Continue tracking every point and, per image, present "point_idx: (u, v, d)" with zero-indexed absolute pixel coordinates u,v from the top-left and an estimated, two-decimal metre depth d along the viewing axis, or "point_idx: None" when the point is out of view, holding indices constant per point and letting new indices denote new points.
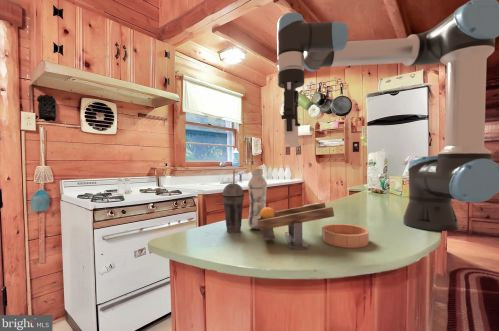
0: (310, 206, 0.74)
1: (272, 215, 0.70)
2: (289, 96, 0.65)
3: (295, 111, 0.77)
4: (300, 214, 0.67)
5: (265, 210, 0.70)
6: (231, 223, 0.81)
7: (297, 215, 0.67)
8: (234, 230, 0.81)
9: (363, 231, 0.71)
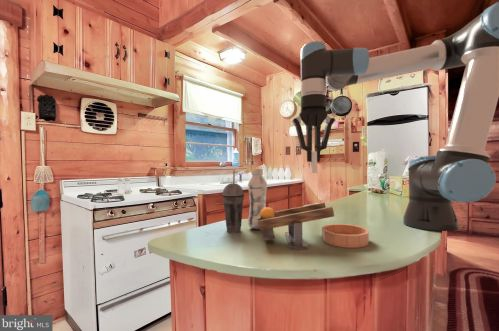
0: (310, 206, 0.74)
1: (272, 215, 0.70)
2: (297, 133, 0.78)
3: (316, 132, 0.77)
4: (300, 214, 0.67)
5: (265, 210, 0.70)
6: (231, 223, 0.81)
7: (297, 215, 0.67)
8: (234, 230, 0.81)
9: (363, 231, 0.71)
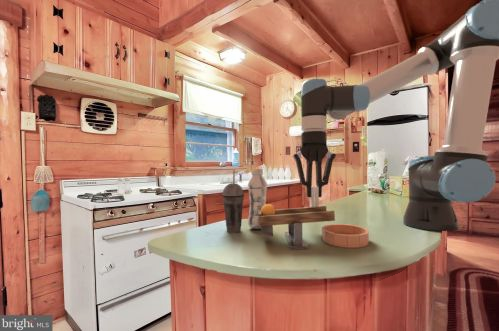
0: (311, 208, 0.74)
1: (273, 212, 0.70)
2: (298, 168, 0.78)
3: (317, 168, 0.77)
4: (301, 214, 0.67)
5: (266, 207, 0.70)
6: (231, 223, 0.81)
7: (298, 215, 0.67)
8: (234, 230, 0.81)
9: (363, 231, 0.71)
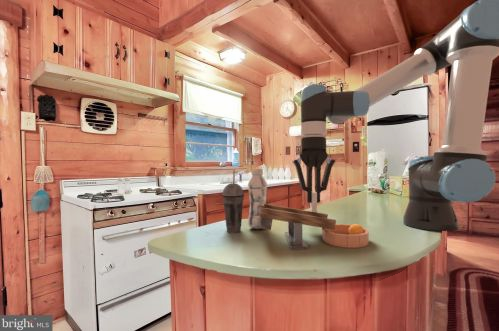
0: (313, 213, 0.74)
1: None
2: (298, 174, 0.78)
3: (316, 174, 0.77)
4: (303, 216, 0.67)
5: (357, 227, 0.69)
6: (231, 223, 0.81)
7: (300, 216, 0.67)
8: (234, 230, 0.81)
9: None
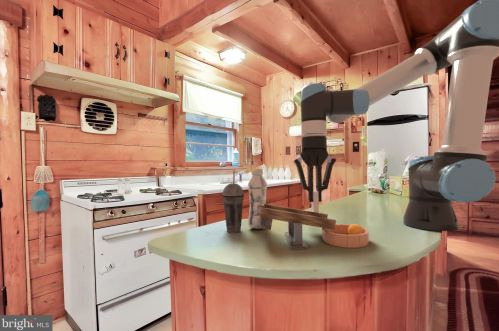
0: (313, 213, 0.74)
1: None
2: (299, 173, 0.78)
3: (317, 173, 0.77)
4: (303, 216, 0.67)
5: (356, 227, 0.69)
6: (231, 223, 0.81)
7: (300, 216, 0.67)
8: (234, 230, 0.81)
9: (363, 231, 0.71)
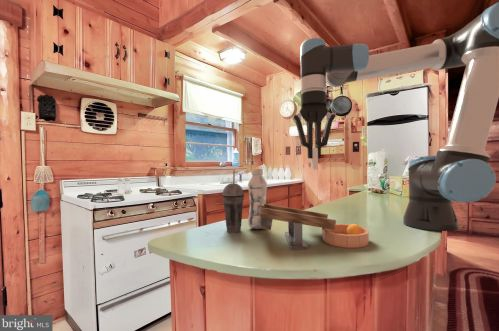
0: (313, 213, 0.74)
1: (361, 233, 0.69)
2: (298, 130, 0.78)
3: (316, 129, 0.77)
4: (303, 216, 0.67)
5: (354, 227, 0.69)
6: (231, 223, 0.81)
7: (300, 216, 0.67)
8: (234, 230, 0.81)
9: (363, 231, 0.71)
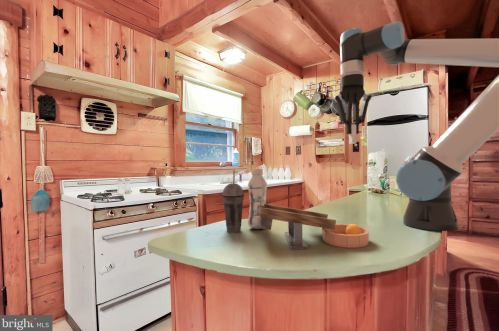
0: (313, 213, 0.74)
1: (360, 232, 0.69)
2: (338, 109, 0.89)
3: (355, 108, 0.88)
4: (303, 216, 0.67)
5: (353, 227, 0.69)
6: (231, 223, 0.81)
7: (300, 216, 0.67)
8: (234, 230, 0.81)
9: (363, 231, 0.71)
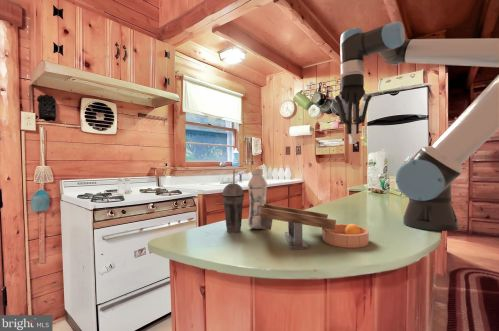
0: (313, 213, 0.74)
1: (359, 232, 0.69)
2: (338, 109, 0.89)
3: (355, 108, 0.88)
4: (303, 216, 0.67)
5: (352, 228, 0.69)
6: (231, 223, 0.81)
7: (300, 216, 0.67)
8: (234, 230, 0.81)
9: (363, 231, 0.71)
